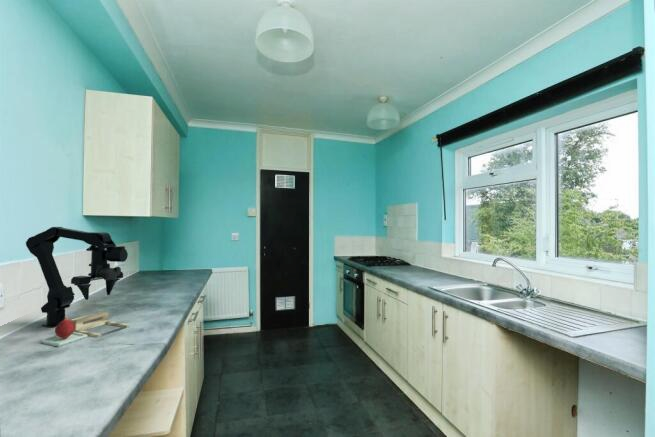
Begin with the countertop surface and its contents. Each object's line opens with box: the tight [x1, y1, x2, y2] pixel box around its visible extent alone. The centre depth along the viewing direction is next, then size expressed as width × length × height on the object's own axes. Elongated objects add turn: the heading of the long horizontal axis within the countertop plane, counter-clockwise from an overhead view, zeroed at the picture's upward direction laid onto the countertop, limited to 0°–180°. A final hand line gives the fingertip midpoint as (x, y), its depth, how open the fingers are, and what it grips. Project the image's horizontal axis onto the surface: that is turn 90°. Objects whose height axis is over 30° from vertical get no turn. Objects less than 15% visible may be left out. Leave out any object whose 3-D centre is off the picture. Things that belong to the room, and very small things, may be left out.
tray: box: [41, 332, 88, 348], centre depth 115 cm, size 10×10×1 cm
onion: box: [54, 316, 76, 339], centre depth 115 cm, size 6×6×8 cm
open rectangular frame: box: [70, 310, 130, 338], centre depth 128 cm, size 15×13×5 cm
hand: (97, 297), depth 133 cm, fingers open, 9 cm apart
